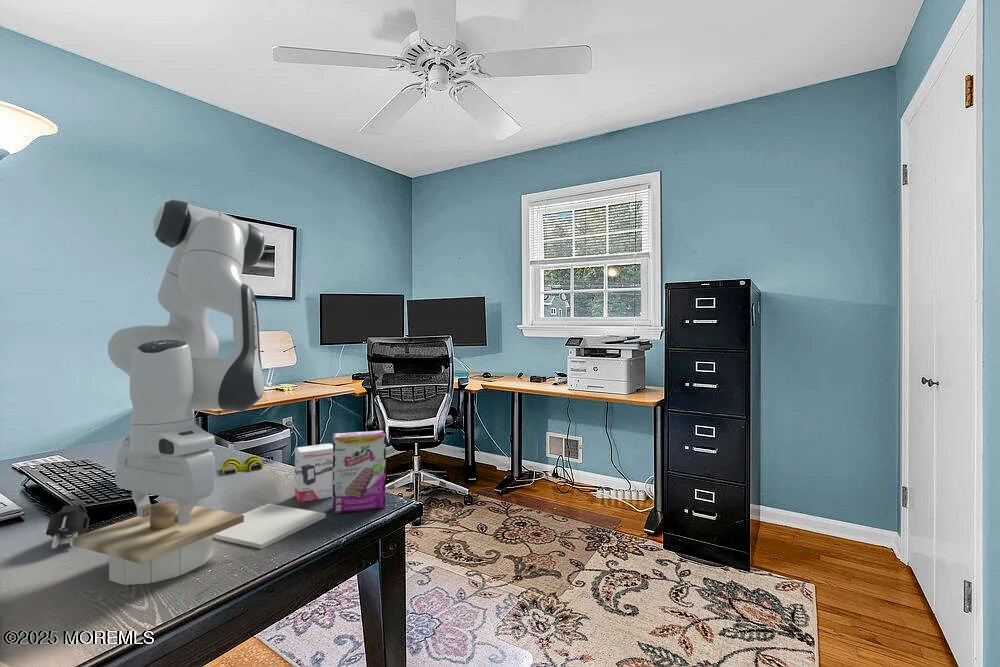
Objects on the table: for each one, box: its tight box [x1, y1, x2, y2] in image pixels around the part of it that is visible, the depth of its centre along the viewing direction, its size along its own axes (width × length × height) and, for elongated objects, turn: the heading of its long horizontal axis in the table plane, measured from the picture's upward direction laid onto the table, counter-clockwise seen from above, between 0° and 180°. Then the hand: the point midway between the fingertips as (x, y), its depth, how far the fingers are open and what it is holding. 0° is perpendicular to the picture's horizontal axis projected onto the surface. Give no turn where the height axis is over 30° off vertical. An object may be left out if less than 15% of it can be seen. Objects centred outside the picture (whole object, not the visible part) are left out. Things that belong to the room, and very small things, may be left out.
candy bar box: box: [331, 430, 387, 515], centre depth 106 cm, size 11×5×16 cm, turn 110°
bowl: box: [108, 535, 214, 586], centre depth 81 cm, size 14×14×5 cm
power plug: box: [45, 503, 90, 550], centre depth 90 cm, size 6×8×12 cm
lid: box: [72, 500, 244, 564], centre depth 81 cm, size 17×17×5 cm
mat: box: [213, 503, 327, 550], centre depth 97 cm, size 16×16×1 cm
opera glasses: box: [220, 454, 264, 475], centre depth 131 cm, size 10×5×5 cm, turn 122°
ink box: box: [294, 443, 333, 504], centre depth 113 cm, size 8×5×12 cm, turn 123°
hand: (163, 520), depth 81 cm, fingers open, 8 cm apart
